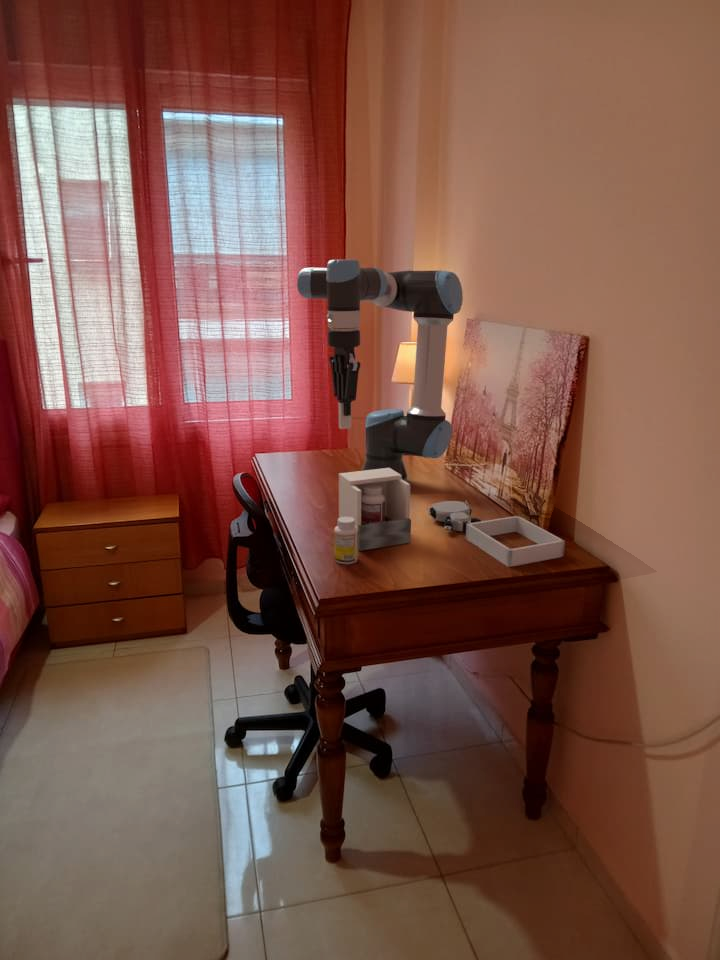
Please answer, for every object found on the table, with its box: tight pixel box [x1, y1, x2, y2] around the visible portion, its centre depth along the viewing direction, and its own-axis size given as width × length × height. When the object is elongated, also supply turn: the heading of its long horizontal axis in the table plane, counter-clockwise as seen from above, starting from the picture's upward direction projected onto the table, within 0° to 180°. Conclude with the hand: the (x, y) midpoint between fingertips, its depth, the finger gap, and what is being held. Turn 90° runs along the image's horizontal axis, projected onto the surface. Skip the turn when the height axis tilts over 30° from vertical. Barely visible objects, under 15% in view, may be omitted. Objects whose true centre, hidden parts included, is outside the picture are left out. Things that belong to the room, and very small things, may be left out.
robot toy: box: [424, 500, 482, 532], centre depth 182 cm, size 12×4×15 cm
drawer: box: [358, 516, 412, 552], centre depth 171 cm, size 14×12×6 cm
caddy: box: [338, 468, 411, 551], centre depth 171 cm, size 14×12×16 cm
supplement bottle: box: [333, 517, 359, 565], centre depth 158 cm, size 6×6×10 cm
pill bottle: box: [361, 484, 385, 525], centre depth 171 cm, size 6×6×11 cm
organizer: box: [465, 515, 566, 568], centre depth 167 cm, size 16×19×4 cm
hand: (345, 427), depth 166 cm, fingers closed
